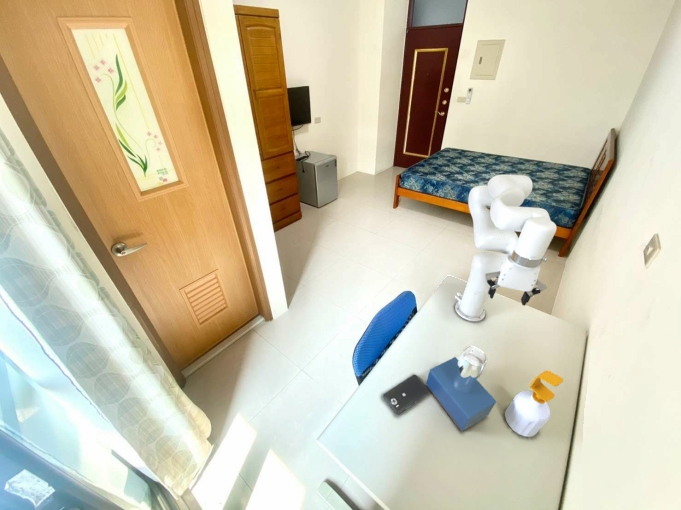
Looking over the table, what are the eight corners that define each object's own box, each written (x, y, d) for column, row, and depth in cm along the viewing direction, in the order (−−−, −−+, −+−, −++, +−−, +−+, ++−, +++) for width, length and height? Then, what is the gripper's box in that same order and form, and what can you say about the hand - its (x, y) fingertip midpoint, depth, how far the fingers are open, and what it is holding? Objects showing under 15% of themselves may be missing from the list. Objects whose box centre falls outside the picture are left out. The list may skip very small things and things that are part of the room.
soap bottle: (524, 443, 83) (561, 400, 69) (498, 415, 90) (527, 371, 76) (543, 428, 87) (582, 384, 73) (516, 402, 93) (547, 357, 79)
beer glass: (448, 388, 87) (460, 359, 78) (452, 370, 92) (463, 341, 83) (472, 399, 84) (487, 370, 76) (475, 379, 89) (489, 350, 81)
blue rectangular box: (424, 385, 98) (430, 369, 92) (448, 373, 102) (455, 356, 96) (461, 433, 86) (469, 417, 80) (486, 417, 89) (496, 401, 84)
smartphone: (382, 396, 95) (382, 394, 95) (414, 374, 101) (415, 373, 101) (396, 416, 90) (397, 414, 89) (430, 392, 96) (430, 390, 96)
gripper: (555, 256, 84) (533, 297, 94) (493, 246, 89) (478, 286, 99) (562, 271, 78) (538, 313, 88) (495, 259, 83) (479, 300, 93)
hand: (506, 299), depth 93 cm, fingers open, 9 cm apart
